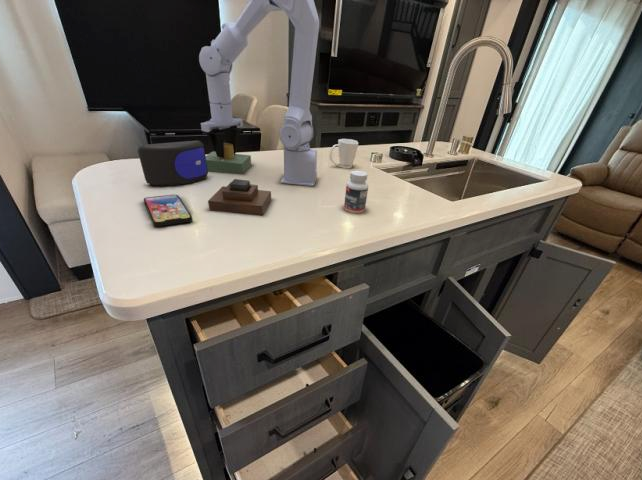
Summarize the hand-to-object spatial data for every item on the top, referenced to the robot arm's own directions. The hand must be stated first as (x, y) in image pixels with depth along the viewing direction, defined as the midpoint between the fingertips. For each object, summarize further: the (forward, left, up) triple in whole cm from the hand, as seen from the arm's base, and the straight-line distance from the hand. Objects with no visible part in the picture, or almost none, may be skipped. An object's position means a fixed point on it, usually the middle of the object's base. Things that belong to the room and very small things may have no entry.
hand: (226, 155), depth 97 cm
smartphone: (+2, +36, -4) cm, 36 cm away
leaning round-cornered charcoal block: (+8, +16, -4) cm, 18 cm away
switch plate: (-12, +28, -3) cm, 31 cm away
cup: (-35, -14, -4) cm, 38 cm away
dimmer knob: (0, 0, 0) cm, 0 cm away
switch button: (-12, +28, 0) cm, 30 cm away
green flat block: (0, 0, -3) cm, 3 cm away
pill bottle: (-39, +24, -4) cm, 46 cm away
